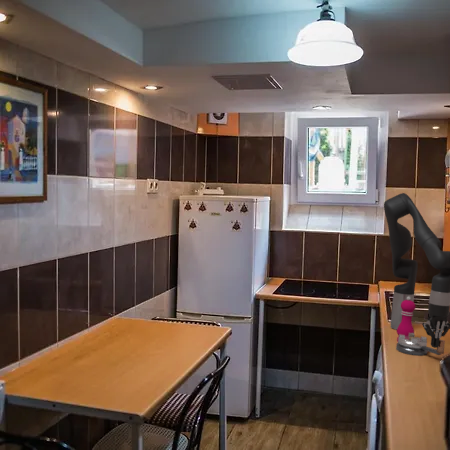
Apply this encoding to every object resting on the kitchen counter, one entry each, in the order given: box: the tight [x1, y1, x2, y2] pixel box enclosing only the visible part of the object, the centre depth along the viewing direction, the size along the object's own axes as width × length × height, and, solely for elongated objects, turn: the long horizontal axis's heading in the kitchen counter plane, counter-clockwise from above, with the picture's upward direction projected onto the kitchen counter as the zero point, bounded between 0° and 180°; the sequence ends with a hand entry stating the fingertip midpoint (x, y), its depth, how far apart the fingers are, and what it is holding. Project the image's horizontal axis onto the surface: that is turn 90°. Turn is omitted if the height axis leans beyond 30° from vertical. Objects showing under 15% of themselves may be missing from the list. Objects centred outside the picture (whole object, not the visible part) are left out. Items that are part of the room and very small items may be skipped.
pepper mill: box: [396, 297, 416, 343], centre depth 237 cm, size 7×7×20 cm
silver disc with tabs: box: [395, 342, 428, 357], centre depth 225 cm, size 12×12×2 cm
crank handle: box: [397, 332, 446, 356], centre depth 221 cm, size 20×11×6 cm, turn 33°
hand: (434, 347), depth 212 cm, fingers closed
